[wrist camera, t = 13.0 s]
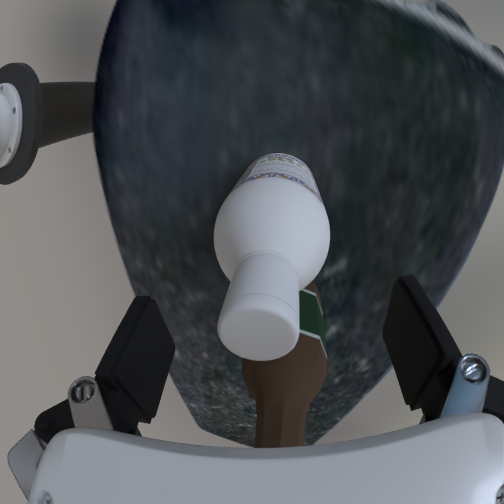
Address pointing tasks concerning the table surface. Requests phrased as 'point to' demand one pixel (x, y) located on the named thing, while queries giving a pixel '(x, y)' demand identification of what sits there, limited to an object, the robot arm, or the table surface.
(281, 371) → the beer bottle
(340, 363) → the table surface
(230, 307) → the bath foam
